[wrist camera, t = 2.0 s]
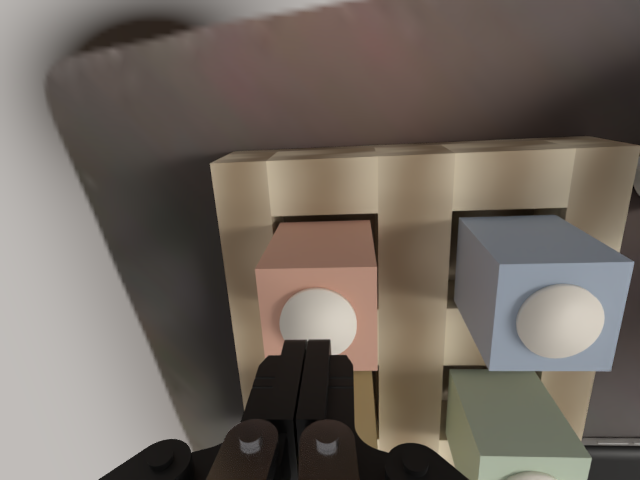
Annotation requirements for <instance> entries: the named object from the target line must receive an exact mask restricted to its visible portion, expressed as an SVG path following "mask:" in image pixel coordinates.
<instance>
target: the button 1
mask: <svg viewBox="0 0 640 480" xmlns="http://www.w3.org/2000/svg"><path fill="white" fill-rule="evenodd" d="M255 275H256V284H257V293H258V301H259V310H260V319H261V328H262V337H263V346H264V355H265V358H266V357H267V356H268V355H281V352H282V348H283V344H284V341H285V340H306V339H307V341H308V340H309V339H330V340H331V355H347V356H348V358H349V359H350V361H351V362H352V364H353V371H378V346H377V263H376V257H375V250H374V243H373V237H372V230H371V223H370V220H353V221H318V222H283V223H280V224H279V226H278V228H277V229H276V231H275V233H274V235H273V237H272V239H271V240H270V242H269V244H268V246H267V248H266V250H265V251H264V253H263V255H262V257H261V259H260V261H259V263H258V264H257V266H256V268H255Z"/></svg>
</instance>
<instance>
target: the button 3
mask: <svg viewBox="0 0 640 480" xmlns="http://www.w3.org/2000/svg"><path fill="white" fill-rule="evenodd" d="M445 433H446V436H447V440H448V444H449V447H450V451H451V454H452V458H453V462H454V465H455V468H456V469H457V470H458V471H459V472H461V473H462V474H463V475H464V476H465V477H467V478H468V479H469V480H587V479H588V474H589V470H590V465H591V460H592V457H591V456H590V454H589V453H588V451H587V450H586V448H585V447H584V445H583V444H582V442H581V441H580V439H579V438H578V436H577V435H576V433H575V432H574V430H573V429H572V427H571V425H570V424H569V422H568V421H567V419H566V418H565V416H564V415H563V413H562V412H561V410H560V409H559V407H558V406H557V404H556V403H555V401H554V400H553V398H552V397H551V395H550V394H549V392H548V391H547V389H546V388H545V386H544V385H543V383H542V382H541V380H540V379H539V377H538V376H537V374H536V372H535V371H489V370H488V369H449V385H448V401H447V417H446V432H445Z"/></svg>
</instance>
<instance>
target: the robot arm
mask: <svg viewBox="0 0 640 480" xmlns="http://www.w3.org/2000/svg"><path fill="white" fill-rule="evenodd" d="M99 480H469V479H468V478H467V477H465V476H464V475H463V474H462V473H461V472H459V471H458V470H457V469H456V468H455V467H453V466H452V465H451V464H450V463H449V462H447V461H446V460H445V459H444V458H442V457H441V456H440V455H439V454H438V453H436V452H435V451H434V450H432V449H431V448H429V447H427V446H425V445H422V444H418V443H404V444H400V445H397V446H396V447H394V448H393V449H391V450H390V452H389V453H388V452H385V451H381V450H378V449H375V448H373V447H371V446H369V445H367V444H366V443H365V442H364V441H362V440H361V438H360V437H359V436H358V434H357V432H356V429H355V416H354V375H353V364H352V362H351V361H350V359H349V358H348V356H347V355H331V340H330V339H309V340H308V341H307V339H306V340H285V341H284V344H283V348H282V352H281V355H268V356H267V357H266V358H265V359H264V361H263V362H262V363H261V364H260V365H259V367H258V370H257V373H256V376H255V379H254V382H253V385H252V389H251V392H250V395H249V398H248V401H247V404H246V407H245V410H244V413H243V416H242V420H241V422H240V423H239V424H237V425H235V426H234V427H233V428H232V429H230V430H229V432H228V433H227V434H226V436H225V438H224V441H223V443H221V444H219V445H217V446H214V447H211V448H207V449H203V450H200V451H196V452H192V453H191V450H190V448H189V446H188V445H187V444H186V443H185V442H183V441H181V440H177V439H168V440H163V441H159V442H157V443H154V444H152V445H150V446H149V447H147V448H146V449H144V450H143V451H141V452H140V453H138V454H137V455H135V456H134V457H132V458H130V459H129V460H127V461H126V462H124V463H123V464H121V465H120V466H118V467H117V468H115V469H114V470H112V471H111V472H110V473H108V474H106V475H105V476H103V477H102V478H100V479H99Z"/></svg>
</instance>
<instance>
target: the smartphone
mask: <svg viewBox="0 0 640 480" xmlns="http://www.w3.org/2000/svg"><path fill="white" fill-rule="evenodd" d="M581 442H582V444H583V445H584V447H585V448H586V450H587V451H588V453H589V454H590V456H591V457H592V460H591V465H590V470H589V474H588V479H587V480H640V438H582V440H581Z"/></svg>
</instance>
